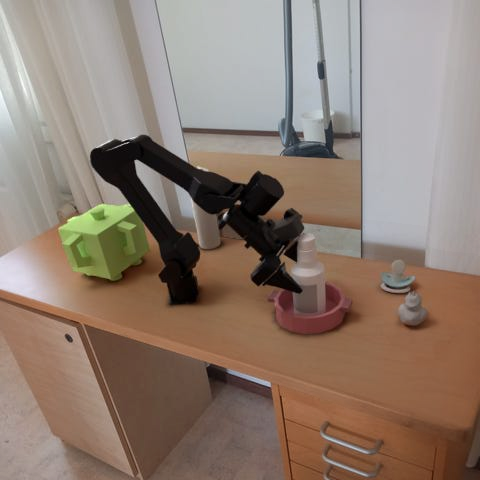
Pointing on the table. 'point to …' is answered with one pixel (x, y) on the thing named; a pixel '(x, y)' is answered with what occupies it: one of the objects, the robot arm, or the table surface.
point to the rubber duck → (412, 310)
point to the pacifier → (396, 278)
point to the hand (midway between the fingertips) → (307, 280)
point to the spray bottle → (308, 279)
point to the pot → (311, 324)
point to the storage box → (104, 241)
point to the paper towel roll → (206, 225)
